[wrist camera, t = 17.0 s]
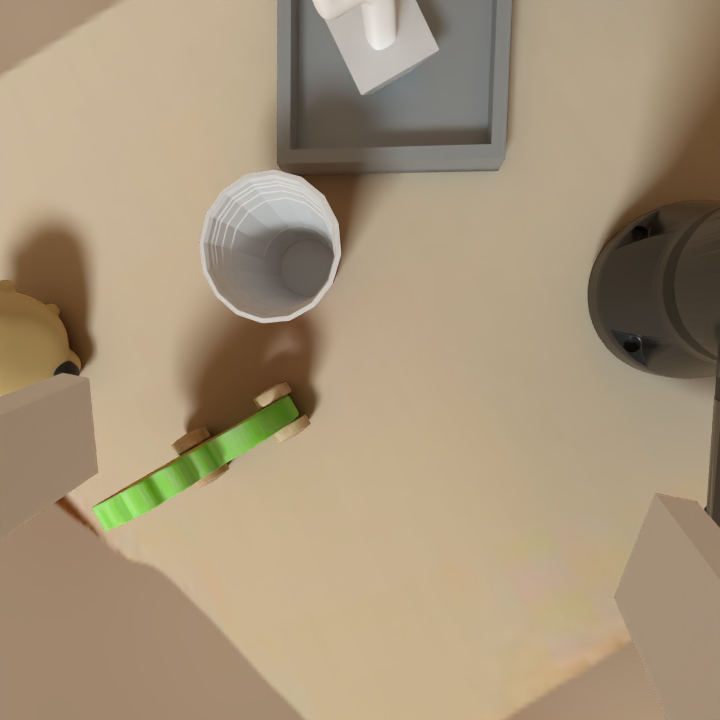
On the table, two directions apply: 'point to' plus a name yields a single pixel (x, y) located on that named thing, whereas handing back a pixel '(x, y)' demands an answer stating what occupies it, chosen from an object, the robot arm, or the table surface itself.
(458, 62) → the tray
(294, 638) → the table surface
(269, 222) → the plastic cup
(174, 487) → the toy lion
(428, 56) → the figurine
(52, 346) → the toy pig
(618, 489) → the table surface
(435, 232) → the table surface
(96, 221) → the table surface
